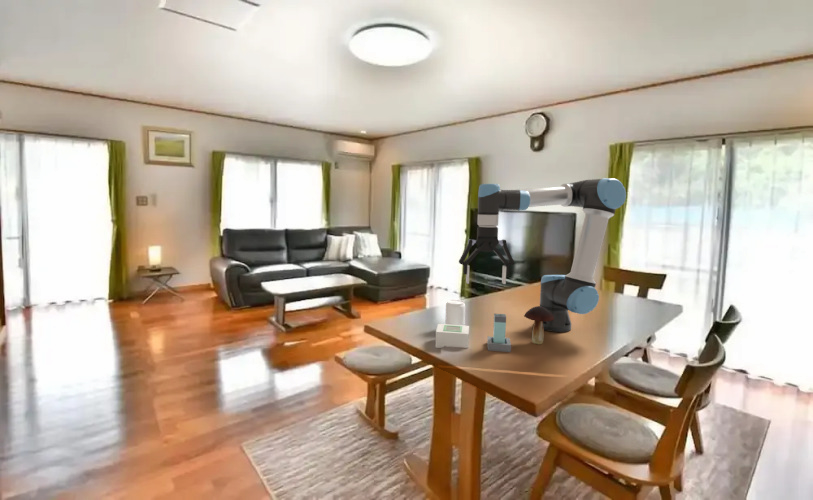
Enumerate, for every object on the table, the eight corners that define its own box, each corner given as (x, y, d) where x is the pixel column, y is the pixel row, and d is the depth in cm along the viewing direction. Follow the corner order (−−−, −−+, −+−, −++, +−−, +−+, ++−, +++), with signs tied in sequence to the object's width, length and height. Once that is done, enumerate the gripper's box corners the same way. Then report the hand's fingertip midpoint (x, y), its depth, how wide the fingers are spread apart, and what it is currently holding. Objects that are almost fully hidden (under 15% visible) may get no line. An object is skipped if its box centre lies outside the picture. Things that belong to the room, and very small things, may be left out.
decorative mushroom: (519, 339, 158) (521, 302, 156) (547, 340, 157) (549, 303, 156) (526, 349, 147) (529, 309, 145) (557, 350, 147) (559, 310, 145)
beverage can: (463, 333, 164) (464, 304, 163) (444, 331, 166) (445, 303, 165) (464, 327, 172) (465, 300, 171) (446, 326, 174) (447, 299, 173)
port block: (468, 340, 155) (469, 325, 155) (468, 349, 146) (468, 333, 145) (437, 338, 157) (438, 323, 157) (435, 347, 148) (435, 331, 147)
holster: (508, 346, 150) (509, 337, 150) (510, 354, 142) (511, 345, 142) (487, 344, 151) (487, 336, 151) (487, 352, 144) (488, 343, 143)
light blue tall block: (503, 345, 148) (505, 314, 147) (504, 349, 144) (506, 317, 143) (492, 344, 149) (494, 313, 148) (493, 348, 145) (494, 316, 144)
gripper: (518, 226, 151) (516, 281, 153) (452, 225, 151) (451, 280, 153) (524, 227, 143) (521, 285, 146) (455, 226, 143) (453, 284, 146)
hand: (485, 283), depth 149 cm, fingers open, 13 cm apart
